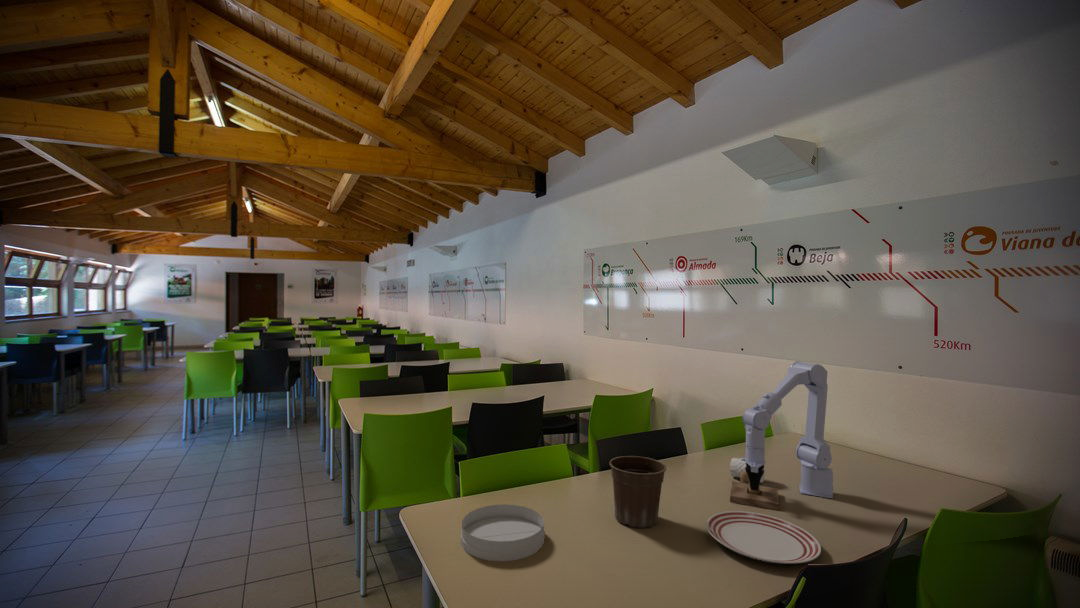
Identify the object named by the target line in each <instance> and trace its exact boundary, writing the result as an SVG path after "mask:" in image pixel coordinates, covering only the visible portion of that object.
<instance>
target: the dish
mask: <svg viewBox="0 0 1080 608" xmlns="http://www.w3.org/2000/svg"><path fill="white" fill-rule="evenodd" d="M545 535H546V531H545V520H544V518H543V516H542V515H541V514H540V513H539V512H538V511H536V510H534V509H532V508H530V507H526V506H522V505H517V504H505V503H504V504H503V503H502V504H493V505H486V506H482V507H480V508H476V509H474V510H471V511H470V512H469V513H467V514H466V515H465V516H464V517H463V519H462V521H461V531H460V545H461V547H462V549H463V551H465V552H466V553H467V554H469V555H470V556H473V557H475V558H477V559H480V560H485V561H491V562H511V561H516V560H521V559H522V560H523V559H525V558H527V557H531V556H533V555H534V554H536V553H537V552H538V550H539V549H540V548H541V549H542V548H543V546H544V545H543V544H545V540H544V539H545V538H546V536H545ZM542 545H543V546H542ZM541 549H540V550H541ZM540 550H539V551H540Z"/></svg>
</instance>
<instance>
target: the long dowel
mask: <svg viewBox="0 0 1080 608" xmlns="http://www.w3.org/2000/svg"><path fill="white" fill-rule="evenodd" d="M760 486H761V483H760V484H759V489H758V491H756V490H751V488H750V483H749V494H755V495H759V493H760Z"/></svg>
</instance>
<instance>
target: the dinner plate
mask: <svg viewBox="0 0 1080 608" xmlns="http://www.w3.org/2000/svg"><path fill="white" fill-rule="evenodd" d="M705 526H706V527H705V528H706V530H707V532H708V533H709V535H710V537H712V538H713V539H714V540H716V542H718V543H719V544H721V545H722V546H723V547H725V548H727V549H729V550H731V551H732V552H735V553H737V554H739V555H741V556H744V557H747V558H750V559H753V560H756V559H757V561H760V560H761V561H760V562H765V563H770V564H771V563H772V564H785V565H787V564H788V565H789V564H790V565H791V564H793V565H795V564H803V563H808V562H811V561H814V560H816V559H818V558H819V556H820V555H821V553H822V546H821V544H820V542H819V541H818V539H816V538H815V536H813V534H811V533H809V532H808V531H807V530H806V529H804V528H802V527H800V526H798V525H796V524H795V523H792V522H790V521H787V520H785V519H781V518H778V517H775V516H773V515H768V514H764V513H759V512H758V513H757V512H753V511H746V510H745V511H742V510H730V511H729V510H728V511H721V512H717V513H715V514H713V515H711V516H709V517H708V518H707V520H706V523H705Z"/></svg>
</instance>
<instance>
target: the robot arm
mask: <svg viewBox="0 0 1080 608" xmlns="http://www.w3.org/2000/svg"><path fill="white" fill-rule="evenodd" d="M799 385H803V386H805V388H806V389H807V390H808V398H807V407H806V408H807V409H806V420H805V421H806V422H805V433H804V436H802V437H800V438H799V439H798V445H797V446H796V450H795V455H796V457H797V459H798V460H799V464H801V465H800V484H798V489H799V492H800V494H802V495H808V496H816V497H822V498H828V499H834V493H833V492H834V475H833V474H834V472H833V468H832V467H829V466H830V465H831V463H832V457H833V456H832V454H831V445H829V443H828V441H826V440H825V438H824V436H825V425H826V415H827V414H826V413H827V412H826V411H827V401H828V400H827V399H828V370H827V369H826V368H825V367H824V366H823V365H822V364H819V363H817V364H815V363H808V362H803V361H798V360H797V361H794V362H793V363H792V364H791V365H790V366H789V367H788V368H787V374H786V375H785V376H784V377H783V378H782V380H781V381H780V382H779V384H778V385H777V386H776V387H775V389H774V390H772V392H766V393H764V394H763V395H762V397H761V398H760V399H759V400H758V401H757V402H756V403H755V405H753V407H752V408H751V407H750V408H748V409H746V410H745V411H744V413H743V416H741V419H742V422H743V424H744V429H745V457H741V458H742V461H745V462H746V466H747V467H746V466H745V470H746V472H747V474H748V477H749V483H750V488H751V490H756V491H758V489H759V484H760V485H761V483H760V480H761V477H762V475H763V474H764V475H765V464H766V460H765V458H766V457H765V455H766V447H765V446H766V428H768V427H769V425H770V424H771V423H770V422H771V419H772V417H773V415H774V414H775V413H776V412H777V411H778V410H779V409H780V408H781V406H782V404H783V403H782V401H783V399H784V398H785V397H786V396H787V395H788V394H789V393H790V392H792V390H794V389H795V388H796V387H797V386H799ZM763 468H764V470H763Z"/></svg>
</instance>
